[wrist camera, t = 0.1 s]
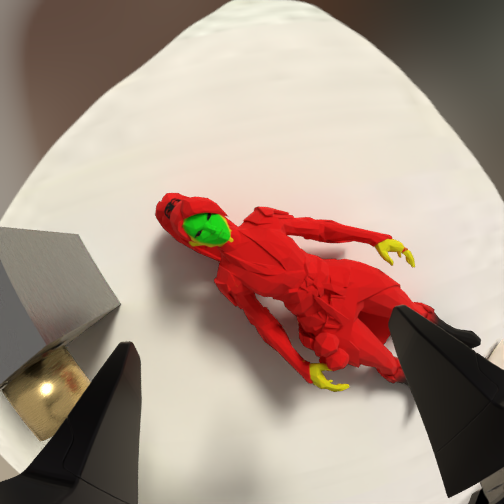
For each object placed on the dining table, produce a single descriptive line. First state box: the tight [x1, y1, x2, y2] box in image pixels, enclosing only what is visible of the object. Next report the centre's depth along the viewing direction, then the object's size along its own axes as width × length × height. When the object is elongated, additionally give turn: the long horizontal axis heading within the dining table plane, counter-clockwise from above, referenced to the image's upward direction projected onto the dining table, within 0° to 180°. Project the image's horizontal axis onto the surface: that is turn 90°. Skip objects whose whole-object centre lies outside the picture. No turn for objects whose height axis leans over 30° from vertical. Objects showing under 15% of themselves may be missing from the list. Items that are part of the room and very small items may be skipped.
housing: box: [0, 227, 121, 391], centre depth 17 cm, size 7×11×12 cm, turn 124°
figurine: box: [155, 193, 481, 392], centre depth 23 cm, size 12×9×30 cm
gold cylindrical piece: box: [2, 345, 91, 441], centre depth 15 cm, size 8×6×6 cm
